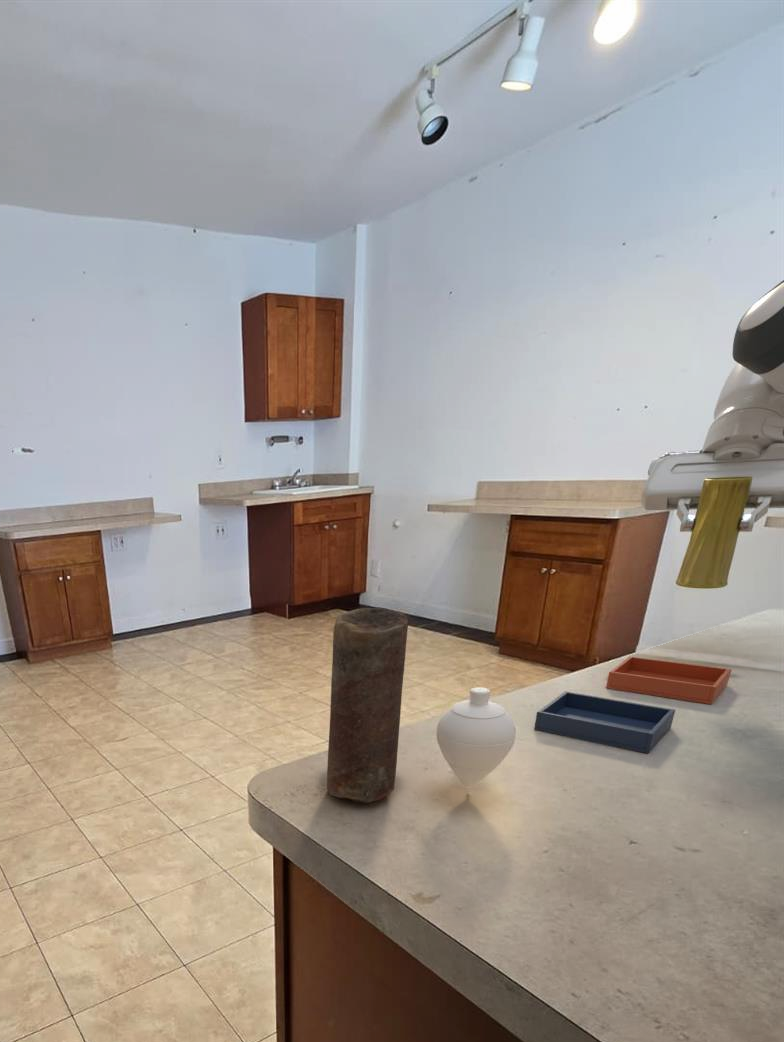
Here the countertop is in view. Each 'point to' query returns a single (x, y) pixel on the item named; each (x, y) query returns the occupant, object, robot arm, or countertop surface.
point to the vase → (714, 533)
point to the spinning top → (475, 737)
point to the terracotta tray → (669, 679)
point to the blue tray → (605, 721)
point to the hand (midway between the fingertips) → (715, 529)
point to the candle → (366, 703)
